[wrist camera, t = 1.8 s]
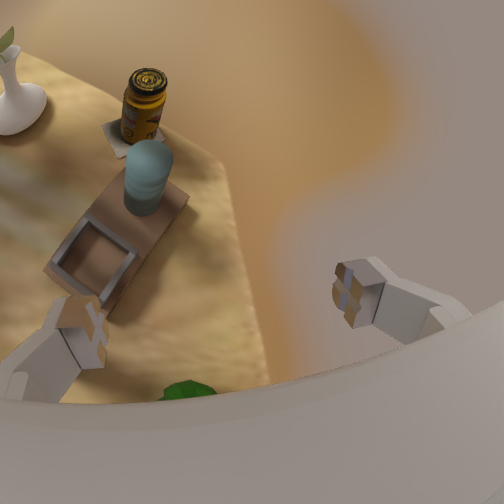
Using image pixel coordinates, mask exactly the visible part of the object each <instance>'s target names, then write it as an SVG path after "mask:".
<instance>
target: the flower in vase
mask: <svg viewBox="0 0 504 504" xmlns="http://www.w3.org/2000/svg"><path fill="white" fill-rule="evenodd" d="M13 39H14V29H13V27H11V28H10V29H9V30H8V31H7V33H5V34H4V35H3V36H2V38H1V39H0V74H1V76H2V78H3V82H4V86H5V92H4V93H3V94H2V95H1V96H0V135H13V134H16V133H19V132H21V131H23V130H25V129H26V128H28V127H29V126H31V125H32V124H33V123H34V122H35V121H36V120H37V119H38V118H39V116H40V115H41V114H42V112H43V110H44V108H45V106H46V102H47V96H46V93H45V91H44V90H43V89H42V88H41V87H40V86H39V85H36V84H32V83H22V84H19V83H18V81H17V78H16V71H15V65H16V59H17V57H18V55H19V53H20V50H21V48H20V47H19V46H17V45H13V46H10V45H11V44H12V42H13Z"/></svg>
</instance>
